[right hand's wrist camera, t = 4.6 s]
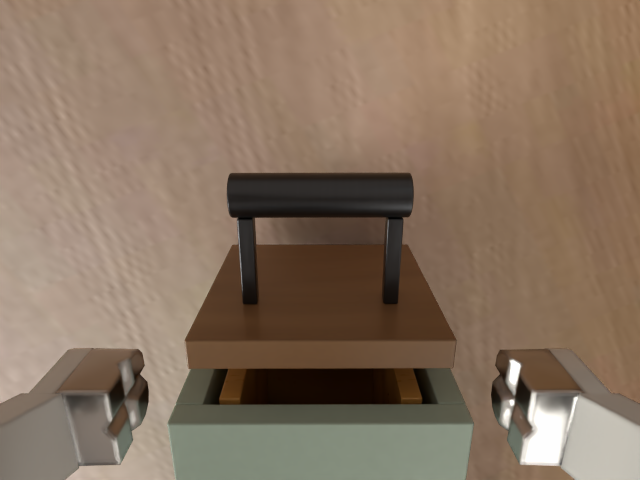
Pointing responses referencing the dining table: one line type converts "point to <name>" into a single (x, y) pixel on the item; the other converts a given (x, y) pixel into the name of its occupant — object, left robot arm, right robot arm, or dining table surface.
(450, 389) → the cabinet
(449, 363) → the drawer
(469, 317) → the dining table surface
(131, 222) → the dining table surface
